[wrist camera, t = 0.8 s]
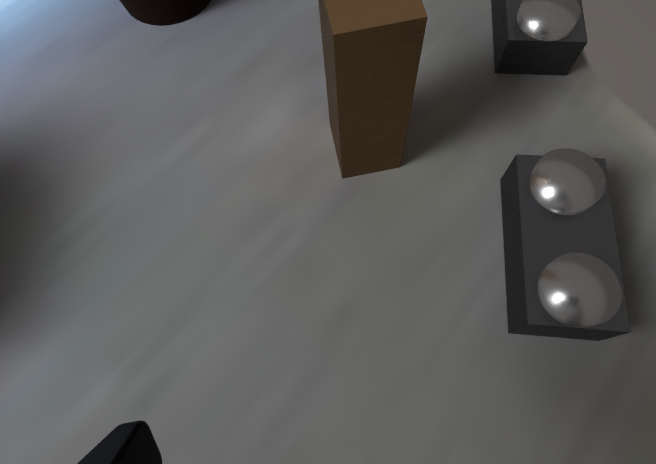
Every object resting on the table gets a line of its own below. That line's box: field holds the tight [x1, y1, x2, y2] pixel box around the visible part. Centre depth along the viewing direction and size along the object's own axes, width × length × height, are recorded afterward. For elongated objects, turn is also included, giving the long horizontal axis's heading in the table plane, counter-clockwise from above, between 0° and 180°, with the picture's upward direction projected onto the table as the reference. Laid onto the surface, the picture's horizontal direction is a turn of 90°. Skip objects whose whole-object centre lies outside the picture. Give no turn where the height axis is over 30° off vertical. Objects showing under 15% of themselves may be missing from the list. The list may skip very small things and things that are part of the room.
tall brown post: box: [318, 0, 427, 178], centre depth 20 cm, size 4×3×10 cm
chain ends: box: [491, 0, 631, 341], centre depth 23 cm, size 23×4×3 cm, turn 175°
